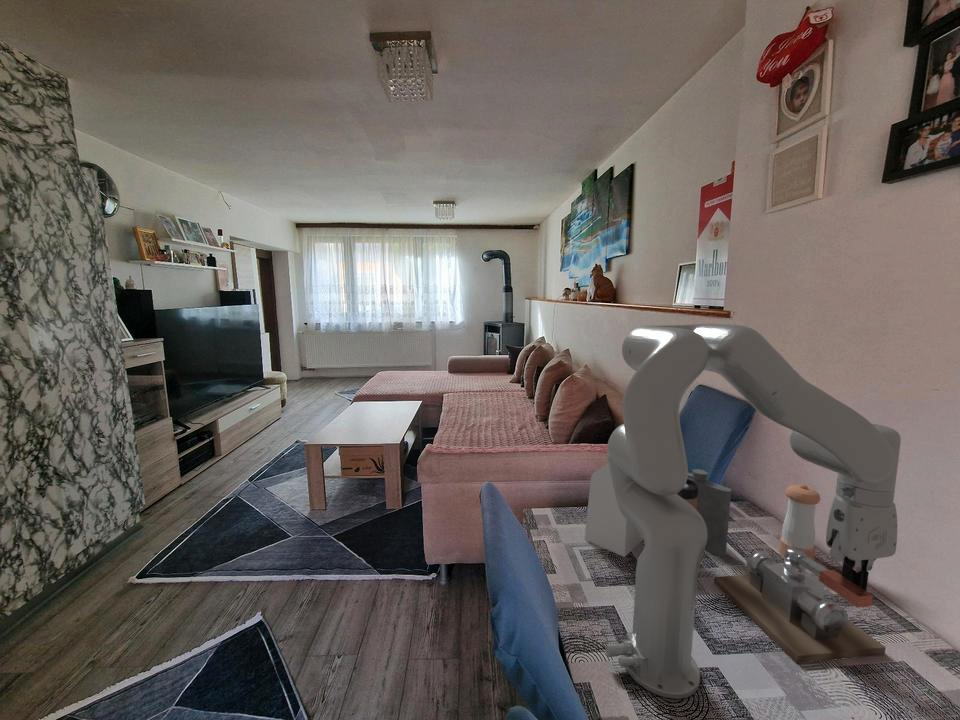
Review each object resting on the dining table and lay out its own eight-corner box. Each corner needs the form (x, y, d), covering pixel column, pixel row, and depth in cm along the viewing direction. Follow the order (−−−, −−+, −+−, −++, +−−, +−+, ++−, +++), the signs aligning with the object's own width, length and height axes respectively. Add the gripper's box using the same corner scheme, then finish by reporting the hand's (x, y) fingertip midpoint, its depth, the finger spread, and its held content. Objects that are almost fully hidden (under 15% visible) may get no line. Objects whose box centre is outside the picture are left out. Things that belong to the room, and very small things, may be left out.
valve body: (814, 644, 76) (820, 594, 75) (742, 580, 94) (746, 539, 92) (848, 641, 77) (854, 591, 75) (770, 578, 94) (774, 538, 93)
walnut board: (796, 663, 73) (797, 655, 73) (713, 582, 95) (714, 576, 95) (884, 654, 76) (885, 647, 75) (783, 577, 97) (784, 571, 97)
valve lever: (781, 557, 85) (782, 546, 85) (795, 556, 86) (796, 545, 85) (856, 610, 70) (857, 596, 70) (872, 608, 71) (874, 595, 71)
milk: (605, 523, 121) (609, 438, 118) (643, 538, 113) (649, 448, 110) (584, 539, 113) (588, 448, 110) (624, 557, 105) (630, 459, 102)
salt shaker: (815, 554, 107) (823, 484, 104) (812, 567, 101) (821, 493, 99) (780, 543, 112) (787, 476, 109) (776, 555, 106) (784, 484, 104)
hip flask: (728, 553, 107) (735, 480, 104) (718, 558, 105) (725, 483, 102) (674, 525, 121) (679, 460, 118) (665, 528, 119) (669, 462, 116)
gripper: (850, 505, 69) (839, 606, 71) (923, 498, 71) (911, 596, 73) (808, 486, 76) (799, 578, 78) (876, 481, 78) (865, 570, 80)
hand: (853, 586), depth 76 cm, fingers closed
